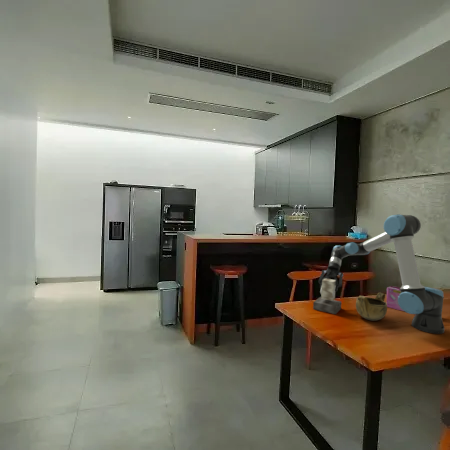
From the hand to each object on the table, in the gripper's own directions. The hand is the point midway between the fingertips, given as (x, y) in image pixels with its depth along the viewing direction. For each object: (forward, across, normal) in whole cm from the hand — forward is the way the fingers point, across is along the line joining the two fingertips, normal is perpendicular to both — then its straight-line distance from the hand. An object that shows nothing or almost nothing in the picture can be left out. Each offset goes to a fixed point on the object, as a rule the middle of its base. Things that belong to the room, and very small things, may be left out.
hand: (327, 293), depth 190 cm
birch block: (0, 0, -5) cm, 5 cm away
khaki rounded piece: (+7, -26, -8) cm, 28 cm away
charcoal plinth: (+6, 0, -9) cm, 11 cm away
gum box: (-18, -43, -33) cm, 57 cm away
